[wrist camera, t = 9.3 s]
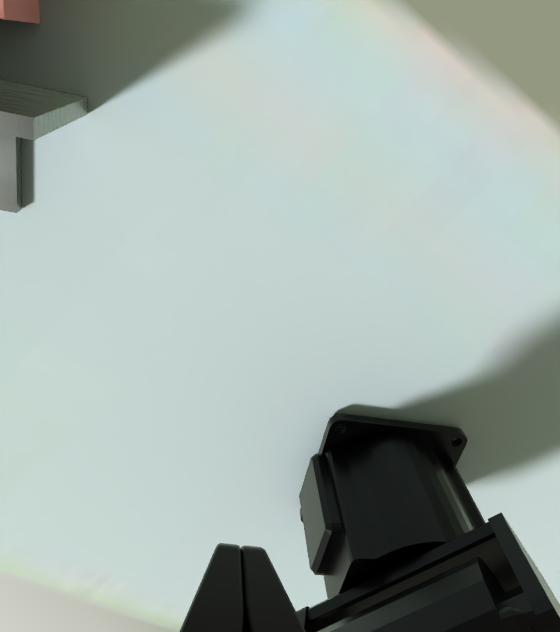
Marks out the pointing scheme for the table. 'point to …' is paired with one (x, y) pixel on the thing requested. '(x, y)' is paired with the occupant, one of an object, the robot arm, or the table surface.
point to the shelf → (28, 129)
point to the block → (20, 10)
